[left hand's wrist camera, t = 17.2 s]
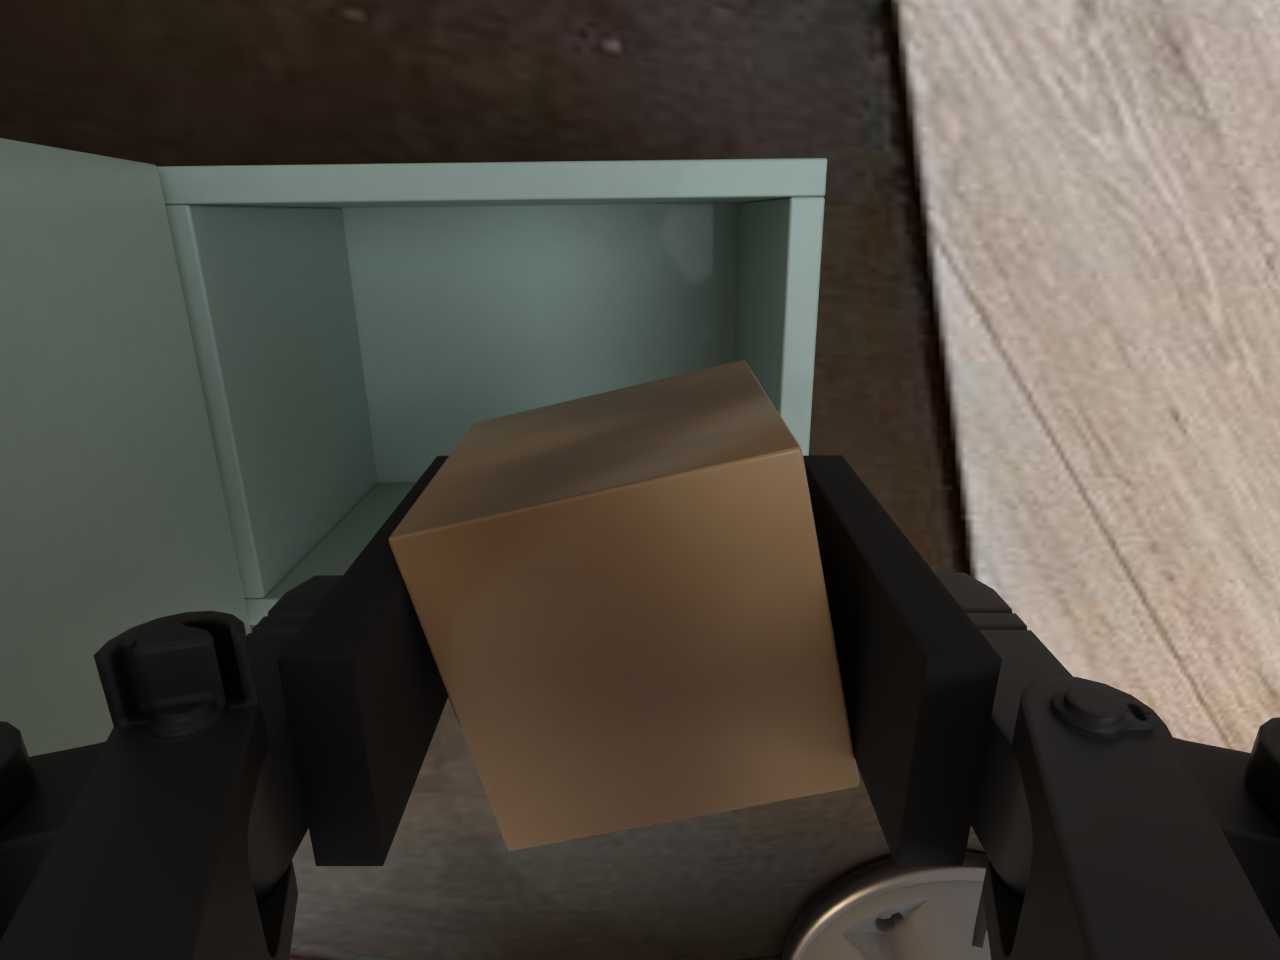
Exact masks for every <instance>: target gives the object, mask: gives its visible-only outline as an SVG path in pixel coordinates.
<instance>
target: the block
mask: <svg viewBox="0 0 1280 960" xmlns="http://www.w3.org/2000/svg"><path fill="white" fill-rule="evenodd" d="M389 544H390V547H391V549H392V552H393V554H394V557H395V559H396V562H397V565H398V567H399V570H400V572H401V575H402V578H403V580H404V583H405V585H406V588H407V590H408V593H409V596H410V598H411V601H412V603H413V606H414V609H415V611H416V614H417V616H418V619H419V621H420V624H421V627H422V629H423V632H424V634H425V637H426V640H427V642H428V645H429V647H430V650H431V652H432V655H433V658H434V660H435V663H436V665H437V668H438V671H439V673H440V676H441V678H442V681H443V683H444V686H445V689H446V691H447V694H448V696H449V699H450V701H451V704H452V707H453V709H454V712H455V714H456V717H457V720H458V722H459V725H460V727H461V730H462V732H463V735H464V738H465V740H466V743H467V745H468V748H469V751H470V753H471V756H472V758H473V761H474V763H475V766H476V769H477V771H478V774H479V776H480V779H481V782H482V784H483V787H484V789H485V792H486V794H487V797H488V800H489V802H490V805H491V807H492V810H493V813H494V815H495V818H496V820H497V823H498V825H499V828H500V831H501V833H502V836H503V838H504V841H505V844H506V846H507V849H508V850H509V851H514V850H519V849H525V848H530V847H536V846H541V845H546V844H552V843H557V842H562V841H568V840H573V839H579V838H584V837H589V836H595V835H600V834H606V833H611V832H616V831H622V830H627V829H632V828H638V827H643V826H649V825H654V824H659V823H665V822H670V821H676V820H681V819H686V818H692V817H697V816H702V815H708V814H713V813H719V812H724V811H729V810H735V809H740V808H746V807H751V806H756V805H762V804H767V803H772V802H778V801H783V800H789V799H794V798H799V797H805V796H810V795H816V794H821V793H826V792H832V791H837V790H842V789H848V788H853V787H857V786H859V777H858V771H857V766H856V760H855V756H854V748H853V743H852V737H851V731H850V725H849V719H848V714H847V708H846V702H845V696H844V690H843V685H842V679H841V673H840V667H839V661H838V656H837V650H836V644H835V638H834V633H833V627H832V621H831V615H830V609H829V604H828V598H827V592H826V586H825V580H824V575H823V569H822V563H821V557H820V552H819V546H818V540H817V534H816V528H815V523H814V517H813V511H812V505H811V499H810V494H809V488H808V482H807V476H806V470H805V465H804V459H803V453H802V449H801V447H800V446H799V444H798V442H797V441H796V439H795V438H794V436H793V435H792V433H791V432H790V430H789V428H788V427H787V425H786V424H785V422H784V421H783V419H782V417H781V416H780V414H779V413H778V411H777V410H776V408H775V407H774V405H773V403H772V402H771V400H770V399H769V397H768V396H767V394H766V392H765V391H764V389H763V388H762V386H761V385H760V383H759V382H758V380H757V378H756V377H755V375H754V374H753V372H752V371H751V369H750V367H749V366H748V364H747V363H746V361H745V360H741V361H737V362H732V363H728V364H724V365H719V366H715V367H711V368H707V369H702V370H698V371H694V372H689V373H685V374H681V375H677V376H672V377H668V378H664V379H659V380H655V381H651V382H647V383H642V384H638V385H634V386H629V387H625V388H621V389H617V390H612V391H608V392H604V393H599V394H595V395H591V396H587V397H582V398H578V399H574V400H570V401H565V402H561V403H557V404H552V405H548V406H544V407H540V408H535V409H531V410H527V411H522V412H518V413H514V414H510V415H505V416H501V417H497V418H492V419H488V420H484V421H480V422H475V423H473V424H472V426H471V427H470V428H469V430H468V431H467V432H466V434H465V435H464V436H463V438H462V439H461V440H460V442H459V443H458V445H457V446H456V447H455V449H454V450H453V451H452V453H451V454H450V455H449V457H448V458H447V460H446V461H445V462H444V464H443V465H442V466H441V468H440V469H439V470H438V472H437V473H436V475H435V476H434V477H433V479H432V480H431V481H430V483H429V484H428V485H427V487H426V488H425V490H424V491H423V492H422V494H421V495H420V496H419V498H418V499H417V500H416V502H415V503H414V505H413V506H412V507H411V509H410V510H409V511H408V513H407V514H406V515H405V517H404V518H403V519H402V521H401V522H400V524H399V525H398V526H397V528H396V529H395V530H394V532H393V533H392V534H391V536H390V537H389Z"/></svg>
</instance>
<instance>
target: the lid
mask: <svg viewBox="0 0 1280 960" xmlns="http://www.w3.org/2000/svg"><path fill="white" fill-rule="evenodd" d="M195 611H217V612H223V613H228V614H233V615H234V616H236V617H237V618H238V619H240V620H241V621H243V622H244V626H245V631H246V636H247V635H248V634H249V633H251V628H250V624H249V619H248V614H247V609H246V604H245V599H244V594H243V589H242V584H241V579H240V574H239V569H238V564H237V559H236V554H235V549H234V544H233V539H232V534H231V530H230V525H229V520H228V515H227V510H226V505H225V500H224V495H223V490H222V485H221V480H220V475H219V470H218V465H217V460H216V455H215V450H214V445H213V441H212V436H211V431H210V426H209V421H208V416H207V411H206V406H205V401H204V396H203V391H202V386H201V381H200V376H199V371H198V366H197V361H196V356H195V351H194V347H193V342H192V337H191V332H190V327H189V322H188V317H187V312H186V307H185V302H184V297H183V292H182V287H181V282H180V277H179V272H178V267H177V262H176V257H175V253H174V248H173V243H172V238H171V233H170V228H169V223H168V218H167V213H166V208H165V203H164V198H163V193H162V188H161V183H160V178H159V173H158V168H157V166H156V165H153V164H148V163H142V162H136V161H130V160H125V159H119V158H113V157H107V156H101V155H96V154H90V153H84V152H78V151H73V150H67V149H61V148H55V147H49V146H44V145H38V144H32V143H26V142H20V141H15V140H9V139H3V138H0V721H2V722H9V723H10V724H11V725H13V726H14V727H16V728H17V729H19V730H20V732H21V735H22V738H23V741H24V744H25V747H26V750H27V753H28V756H29V757H31V756H36V755H42V754H47V753H52V752H57V751H62V750H67V749H72V748H77V747H82V746H87V745H93V744H97V743H101V742H105V741H107V739H108V737H109V735H110V733H111V731H112V729H113V727H114V726H113V723H112V719H111V715H110V712H109V708H108V705H107V701H106V698H105V694H104V691H103V687H102V684H101V680H100V677H99V673H98V670H97V666H96V663H95V659H94V656H93V655H94V654H95V653H96V652H97V651H98V650H99V649H100V648H101V647H102V646H103V645H104V644H106V643H107V642H108V641H109V640H111V639H112V638H114V637H116V636H118V635H119V634H121V633H123V632H125V631H127V630H128V629H130V628H132V627H135V626H138V625H140V624H143V623H146V622H149V621H151V620H154V619H157V618H160V617H165V616H170V615H175V614H179V613H184V612H195Z"/></svg>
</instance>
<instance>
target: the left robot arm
mask: <svg viewBox="0 0 1280 960" xmlns="http://www.w3.org/2000/svg"><path fill="white" fill-rule="evenodd" d="M448 457H449V456H437V457H436V458H435V459H434V461H433V462H432V463H431V464H430V466H429V467H428V468H427V470H426V471H425V472H424V473H423V475H422V476H421V477H420V478H419V480H418V481H417V482H416V483H415V485H414V486H413V487H412V489H411V490H410V491H409V492H408V494H407V495H406V496H405V497H404V499H403V500H402V501H401V502H400V504H399V505H398V506H397V508H396V509H395V510H394V511H393V513H392V514H391V515H390V516H389V518H388V519H387V520H386V521H385V523H384V524H383V525H382V527H381V528H380V529H379V530H378V532H377V533H376V534H375V535H374V537H373V538H372V539H371V541H370V542H369V543H368V544H367V546H366V547H365V548H364V549H363V551H362V552H361V553H360V554H359V556H358V557H357V558H356V560H355V561H354V562H353V563H352V565H351V566H350V567H349V568H348V570H347V571H346V572H345V573H344V575H315V576H313V577H311V578H310V579H308V580H306V581H305V582H303V583H301V584H299V585H298V586H296V587H294V588H292V589H291V590H289V591H287V592H286V593H285V594H284V595H283V596H282V597H281V598H280V599H279V600H278V601H277V603H276V604H275V605H274V606H273V607H272V608H271V609H270V610H269V611H268V616H264V617H263V618H262V619H261V620H260V621H259V623H258V624H257V625H256V626H255V627H254V628H253V633H249V634H248V635H247V636H246V631H245V626H244V622H243V621H241V620H240V619H238V618H237V617H236V616H234V615H233V614H228V613H223V612H217V611H195V612H184V613H179V614H175V615H170V616H165V617H160V618H157V619H154V620H151V621H149V622H146V623H143V624H140V625H138V626H135V627H132V628H130V629H128V630H127V631H125V632H123V633H121V634H119V635H118V636H116V637H114V638H112V639H111V640H109V641H108V642H107V643H106V644H104V645H103V646H102V647H101V648H100V649H99V650H98V651H97V652H96V653H95V654H94V655H93V656H94V659H95V663H96V666H97V670H98V673H99V677H100V680H101V684H102V687H103V691H104V694H105V698H106V701H107V705H108V708H109V712H110V715H111V719H112V723H113V726H114V727H113V729H112V731H111V733H110V735H109V737H108V739H107V741H105V742H101V743H97V744H93V745H87V746H82V747H77V748H72V749H67V750H62V751H57V752H52V753H47V754H42V755H36V756H31V757H29V756H28V753H27V750H26V747H25V744H24V741H23V738H22V735H21V732H20V730H19V729H17V728H16V727H14V726H13V725H11V724H10V723H9V722H2V721H0V960H289V956H290V949H291V941H292V934H293V926H294V919H295V912H296V904H297V897H298V891H297V884H296V877H295V872H294V867H293V862H292V858H293V856H294V854H295V853H296V851H297V849H298V847H299V845H300V843H301V841H302V839H303V837H304V835H305V834H306V832H307V830H308V828H309V831H310V836H311V842H312V847H313V852H314V857H315V863H316V866H383V865H384V862H385V859H386V857H387V854H388V852H389V849H390V846H391V844H392V841H393V839H394V836H395V833H396V831H397V828H398V826H399V823H400V820H401V818H402V815H403V813H404V810H405V807H406V805H407V802H408V800H409V797H410V794H411V792H412V789H413V787H414V784H415V781H416V779H417V776H418V774H419V771H420V768H421V766H422V763H423V761H424V758H425V755H426V753H427V750H428V748H429V745H430V742H431V740H432V737H433V735H434V732H435V729H436V727H437V724H438V722H439V719H440V716H441V714H442V711H443V709H444V706H445V703H446V701H447V698H448V694H447V691H446V689H445V686H444V683H443V681H442V678H441V676H440V673H439V671H438V668H437V665H436V663H435V660H434V658H433V655H432V652H431V650H430V647H429V645H428V642H427V640H426V637H425V634H424V632H423V629H422V627H421V624H420V621H419V619H418V616H417V614H416V611H415V609H414V606H413V603H412V601H411V598H410V596H409V593H408V590H407V588H406V585H405V583H404V580H403V578H402V575H401V572H400V570H399V567H398V565H397V562H396V559H395V557H394V554H393V552H392V549H391V547H390V544H389V537H390V536H391V534H392V533H393V532H394V530H395V529H396V528H397V526H398V525H399V524H400V522H401V521H402V519H403V518H404V517H405V515H406V514H407V513H408V511H409V510H410V509H411V507H412V506H413V505H414V503H415V502H416V500H417V499H418V498H419V496H420V495H421V494H422V492H423V491H424V490H425V488H426V487H427V485H428V484H429V483H430V481H431V480H432V479H433V477H434V476H435V475H436V473H437V472H438V470H439V469H440V468H441V466H442V465H443V464H444V462H445V461H446V460H447V458H448ZM803 459H804V465H805V470H806V476H807V482H808V488H809V494H810V499H811V505H812V511H813V517H814V523H815V528H816V534H817V540H818V546H819V552H820V557H821V563H822V569H823V575H824V580H825V586H826V592H827V598H828V604H829V609H830V615H831V621H832V627H833V633H834V638H835V644H836V650H837V656H838V661H839V667H840V673H841V679H842V685H843V690H844V696H845V702H846V708H847V714H848V719H849V725H850V731H851V737H852V743H853V748H854V756H855V760H856V763H857V765H858V768H859V771H860V773H861V776H862V778H863V781H864V784H865V786H866V789H867V792H868V794H869V797H870V799H871V802H872V805H873V807H874V810H875V812H876V815H877V818H878V820H879V823H880V825H881V828H882V831H883V833H884V836H885V838H886V841H887V844H888V846H889V849H890V851H891V854H892V857H890V858H886V859H883V860H880V861H877V862H874V863H872V864H869V865H866V866H864V867H862V868H860V869H858V870H855V871H853V872H851V873H850V874H848V875H846V876H844V877H843V878H841V879H839V880H838V881H836V882H835V883H833V884H832V885H830V886H829V887H828V888H826V889H825V890H824V891H823V892H822V893H820V894H819V895H818V896H817V897H816V898H815V899H814V900H813V901H812V902H811V903H810V904H809V905H808V906H807V907H806V909H805V910H804V911H803V912H802V913H801V915H800V916H799V918H798V919H797V921H796V922H795V924H794V925H793V927H792V929H791V931H790V933H789V935H788V938H787V940H786V943H785V947H784V950H783V955H782V960H1280V718H1272V719H1270V720H1269V721H1267V722H1266V723H1265V724H1263V725H1262V726H1260V728H1259V731H1258V734H1257V737H1256V740H1255V743H1254V746H1253V749H1252V752H1251V753H1247V752H1241V751H1236V750H1231V749H1226V748H1221V747H1216V746H1211V745H1205V744H1200V743H1195V742H1190V741H1185V740H1181V739H1177V738H1173V737H1172V735H1171V733H1170V732H1169V730H1168V728H1167V726H1166V725H1165V724H1164V722H1163V721H1162V720H1161V719H1160V718H1159V716H1158V715H1157V714H1156V713H1155V712H1154V711H1153V710H1152V709H1151V708H1149V707H1148V706H1146V705H1145V704H1143V703H1142V702H1140V701H1139V700H1138V699H1136V698H1135V697H1133V696H1132V695H1129V694H1127V693H1125V692H1122V691H1120V690H1118V689H1115V688H1113V687H1111V686H1108V685H1106V684H1103V683H1099V682H1095V681H1091V680H1086V679H1082V678H1078V677H1073V676H1072V675H1071V674H1070V673H1069V672H1068V671H1067V670H1066V669H1065V668H1064V666H1063V665H1062V664H1061V663H1060V662H1059V661H1058V660H1057V659H1056V658H1055V657H1054V655H1053V654H1052V653H1051V652H1050V651H1049V650H1048V649H1047V648H1046V647H1045V646H1044V644H1043V643H1042V642H1041V641H1040V640H1039V639H1038V638H1037V637H1036V636H1035V634H1034V633H1033V632H1032V631H1031V630H1027V626H1026V625H1025V623H1024V622H1023V621H1022V620H1021V619H1020V618H1019V617H1018V616H1017V615H1016V614H1015V613H1012V609H1011V608H1010V607H1009V606H1008V605H1007V604H1006V603H1005V601H1004V600H1003V599H1002V598H1001V597H1000V596H999V595H998V594H997V593H996V592H995V590H993V589H992V588H990V587H988V586H986V585H985V584H983V583H981V582H980V581H978V580H976V579H974V578H973V577H971V576H969V575H967V574H966V573H934V572H933V571H932V570H931V568H930V567H929V566H928V565H927V563H926V562H925V561H924V559H923V558H922V557H921V556H920V554H919V553H918V552H917V551H916V549H915V548H914V547H913V545H912V544H911V543H910V542H909V540H908V539H907V538H906V537H905V535H904V534H903V533H902V532H901V530H900V529H899V528H898V526H897V525H896V524H895V523H894V521H893V520H892V519H891V518H890V516H889V515H888V514H887V513H886V511H885V510H884V509H883V507H882V506H881V505H880V504H879V502H878V501H877V500H876V499H875V497H874V496H873V495H872V493H871V492H870V491H869V490H868V488H867V487H866V486H865V485H864V483H863V482H862V481H861V480H860V478H859V477H858V476H857V474H856V473H855V472H854V471H853V469H852V468H851V467H850V466H849V464H848V463H847V462H846V460H845V459H844V458H843V457H842V456H803ZM970 826H972V828H973V829H974V831H975V833H976V835H977V837H978V839H979V841H980V843H981V845H982V846H983V848H984V850H985V852H986V854H987V855H984V854H978V853H973V852H966V847H967V842H968V837H969V831H970Z"/></svg>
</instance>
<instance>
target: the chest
mask: <svg viewBox="0 0 1280 960" xmlns="http://www.w3.org/2000/svg"><path fill="white" fill-rule="evenodd" d="M157 168H158V173H159V178H160V183H161V188H162V193H163V198H164V203H165V208H166V213H167V218H168V223H169V228H170V233H171V238H172V243H173V248H174V253H175V257H176V262H177V267H178V272H179V277H180V282H181V287H182V292H183V297H184V302H185V307H186V312H187V317H188V322H189V327H190V332H191V337H192V342H193V347H194V351H195V356H196V361H197V366H198V371H199V376H200V381H201V386H202V391H203V396H204V401H205V406H206V411H207V416H208V421H209V426H210V431H211V436H212V441H213V445H214V450H215V455H216V460H217V465H218V470H219V475H220V480H221V485H222V490H223V495H224V500H225V505H226V510H227V515H228V520H229V525H230V530H231V534H232V539H233V544H234V549H235V554H236V559H237V564H238V569H239V574H240V579H241V584H242V589H243V594H244V599H245V604H246V609H247V614H248V619H249V624H250V625H257V624H258V623H259V621H260V620H261V619H262V618H263V617H264V616H268V611H269V610H270V609H271V608H272V607H273V606H274V605H275V604H276V603H277V601H278V600H279V599H280V598H281V597H282V596H283V595H284V594H285V593H286V592H287V591H289V590H291V589H292V588H294V587H296V586H298V585H299V584H301V583H303V582H305V581H306V580H308V579H310V578H311V577H313V576H315V575H344V573H345V572H346V571H347V570H348V568H349V567H350V566H351V565H352V563H353V562H354V561H355V560H356V558H357V557H358V556H359V554H360V553H361V552H362V551H363V549H364V548H365V547H366V546H367V544H368V543H369V542H370V541H371V539H372V538H373V537H374V535H375V534H376V533H377V532H378V530H379V529H380V528H381V527H382V525H383V524H384V523H385V521H386V520H387V519H388V518H389V516H390V515H391V514H392V513H393V511H394V510H395V509H396V508H397V506H398V505H399V504H400V502H401V501H402V500H403V499H404V497H405V496H406V495H407V494H408V492H409V491H410V490H411V489H412V487H413V486H414V485H415V483H416V482H417V481H418V480H419V478H420V477H421V476H422V475H423V473H424V472H425V471H426V470H427V468H428V467H429V466H430V464H431V463H432V462H433V461H434V459H435V458H436V457H437V456H449V455H450V454H451V453H452V451H453V450H454V449H455V447H456V446H457V445H458V443H459V442H460V440H461V439H462V438H463V436H464V435H465V434H466V432H467V431H468V430H469V428H470V427H471V426H472V424H473V423H475V422H480V421H484V420H488V419H492V418H497V417H501V416H505V415H510V414H514V413H518V412H522V411H527V410H531V409H535V408H540V407H544V406H548V405H552V404H557V403H561V402H565V401H570V400H574V399H578V398H582V397H587V396H591V395H595V394H599V393H604V392H608V391H612V390H617V389H621V388H625V387H629V386H634V385H638V384H642V383H647V382H651V381H655V380H659V379H664V378H668V377H672V376H677V375H681V374H685V373H689V372H694V371H698V370H702V369H707V368H711V367H715V366H719V365H724V364H728V363H732V362H737V361H741V360H745V361H746V363H747V364H748V366H749V367H750V369H751V371H752V372H753V374H754V375H755V377H756V378H757V380H758V382H759V383H760V385H761V386H762V388H763V389H764V391H765V392H766V394H767V396H768V397H769V399H770V400H771V402H772V403H773V405H774V407H775V408H776V410H777V411H778V413H779V414H780V416H781V417H782V419H783V421H784V422H785V424H786V425H787V427H788V428H789V430H790V432H791V433H792V435H793V436H794V438H795V439H796V441H797V442H798V444H799V446H800V447H801V449H802V453H803V456H808V455H809V439H810V424H811V408H812V392H813V376H814V360H815V344H816V328H817V312H818V296H819V280H820V264H821V249H822V233H823V217H824V201H825V199H824V197H822V196H824V195H825V188H826V172H827V159H826V158H786V159H709V160H631V161H553V162H475V163H397V164H319V165H241V166H163V167H157Z"/></svg>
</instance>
